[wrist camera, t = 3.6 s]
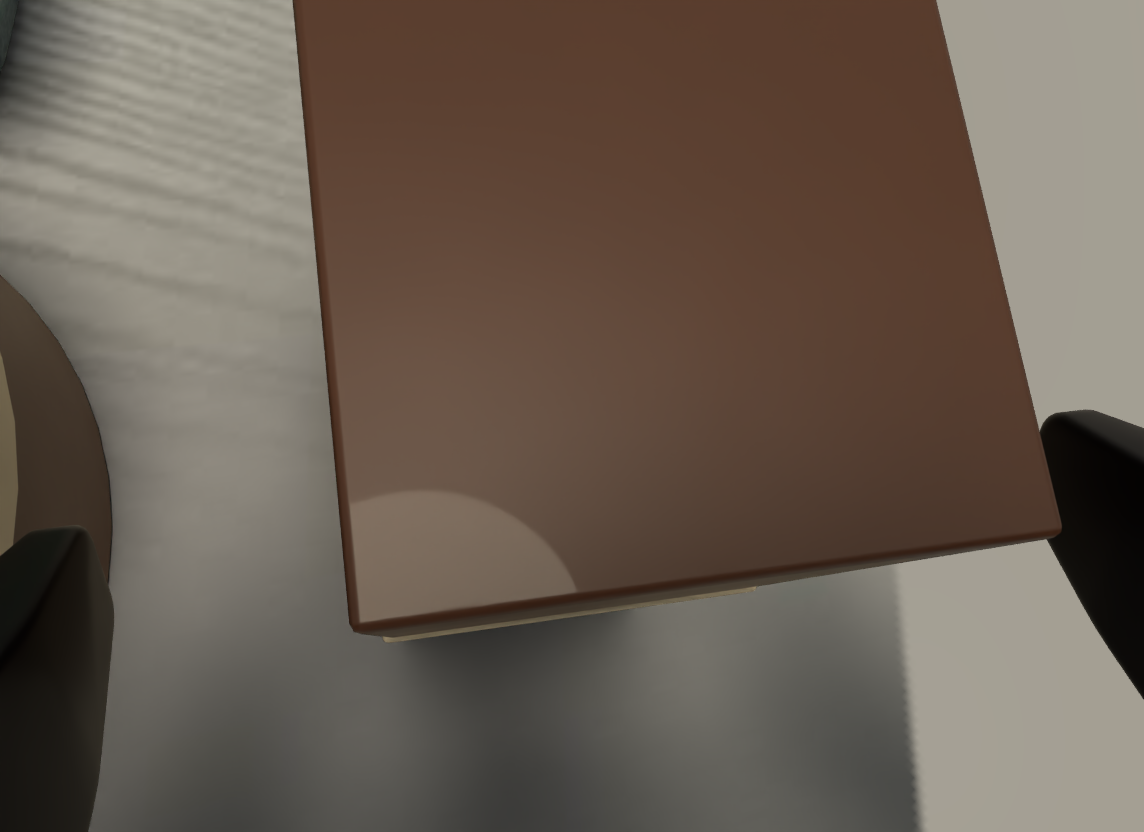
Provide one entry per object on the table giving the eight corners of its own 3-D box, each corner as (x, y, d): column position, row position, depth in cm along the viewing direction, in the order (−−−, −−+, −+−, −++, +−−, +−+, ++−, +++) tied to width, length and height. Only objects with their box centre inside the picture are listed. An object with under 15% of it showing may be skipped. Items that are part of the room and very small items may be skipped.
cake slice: (636, 608, 19) (1079, 542, 6) (397, 642, 18) (340, 646, 5) (591, 304, 20) (881, -271, 7) (365, 323, 19) (258, -283, 7)
